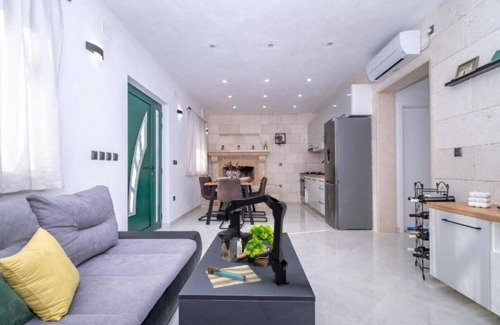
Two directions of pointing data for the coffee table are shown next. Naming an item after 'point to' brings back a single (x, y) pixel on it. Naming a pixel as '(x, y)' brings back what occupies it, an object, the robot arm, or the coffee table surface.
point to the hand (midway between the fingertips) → (235, 251)
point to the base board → (224, 281)
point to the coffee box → (232, 252)
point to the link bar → (230, 275)
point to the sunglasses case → (261, 262)
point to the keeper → (212, 269)
